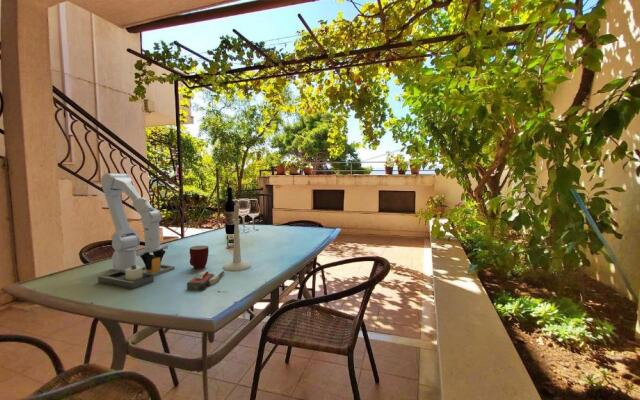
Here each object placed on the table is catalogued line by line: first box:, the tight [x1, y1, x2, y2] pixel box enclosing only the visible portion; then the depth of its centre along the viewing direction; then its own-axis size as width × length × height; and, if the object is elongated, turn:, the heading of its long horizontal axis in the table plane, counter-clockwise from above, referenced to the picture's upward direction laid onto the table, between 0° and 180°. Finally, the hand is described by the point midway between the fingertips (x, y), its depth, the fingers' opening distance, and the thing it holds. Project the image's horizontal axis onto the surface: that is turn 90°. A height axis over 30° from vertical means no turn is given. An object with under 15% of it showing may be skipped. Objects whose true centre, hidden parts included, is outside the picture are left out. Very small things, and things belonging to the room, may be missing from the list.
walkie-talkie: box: [186, 270, 225, 291], centre depth 121 cm, size 9×4×20 cm
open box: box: [97, 270, 155, 290], centre depth 119 cm, size 19×9×3 cm, turn 69°
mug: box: [189, 245, 210, 270], centre depth 137 cm, size 11×8×10 cm
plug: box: [146, 254, 161, 273], centre depth 132 cm, size 4×4×7 cm
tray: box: [141, 263, 176, 277], centre depth 133 cm, size 12×12×2 cm
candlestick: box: [222, 204, 252, 272], centre depth 141 cm, size 13×13×30 cm
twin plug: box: [125, 265, 142, 280], centre depth 117 cm, size 4×4×7 cm
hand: (153, 268), depth 132 cm, fingers closed on plug, 4 cm apart
